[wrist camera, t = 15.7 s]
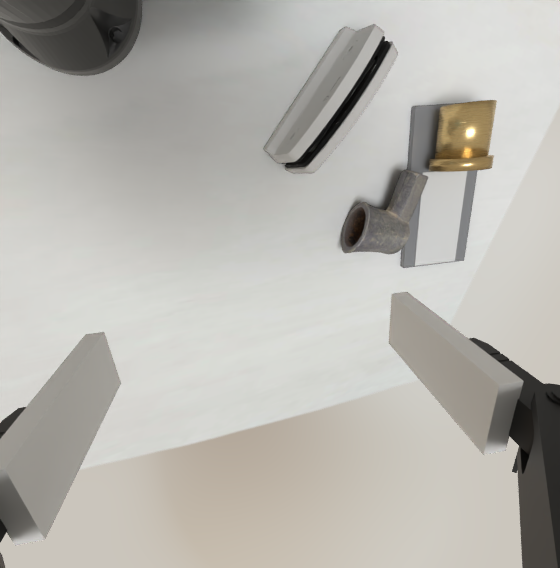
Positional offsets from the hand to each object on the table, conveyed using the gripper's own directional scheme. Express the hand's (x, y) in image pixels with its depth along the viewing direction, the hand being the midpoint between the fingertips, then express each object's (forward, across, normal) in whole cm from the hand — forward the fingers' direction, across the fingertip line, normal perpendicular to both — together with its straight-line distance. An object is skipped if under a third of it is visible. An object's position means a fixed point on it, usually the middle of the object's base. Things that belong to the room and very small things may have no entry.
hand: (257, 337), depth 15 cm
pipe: (+30, +24, -3) cm, 38 cm away
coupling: (+32, +29, +8) cm, 44 cm away
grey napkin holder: (+32, +11, +13) cm, 37 cm away
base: (+32, +29, +1) cm, 43 cm away
